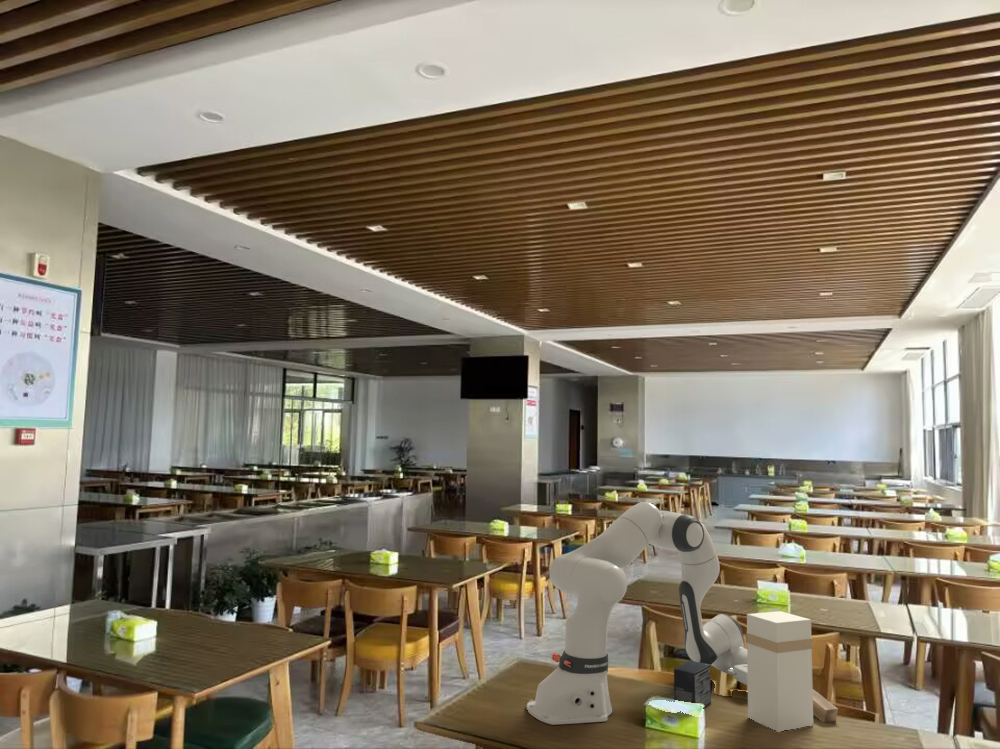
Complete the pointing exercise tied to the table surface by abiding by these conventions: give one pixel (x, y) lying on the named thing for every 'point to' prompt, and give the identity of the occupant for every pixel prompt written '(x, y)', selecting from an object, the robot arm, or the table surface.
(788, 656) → the carton
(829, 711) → the flap bar
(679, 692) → the small box
